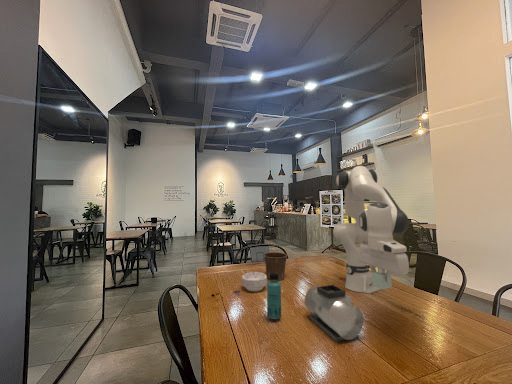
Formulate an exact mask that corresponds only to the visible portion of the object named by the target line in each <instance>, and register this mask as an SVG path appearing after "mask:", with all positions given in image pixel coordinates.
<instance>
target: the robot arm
mask: <svg viewBox="0 0 512 384" xmlns="http://www.w3.org/2000/svg"><path fill="white" fill-rule="evenodd" d="M335 180H336V181H335V182H336V183H335V184H336V186H337V187H338V188H339V189H341V190H345V191H344V212H345V215H347V216H349V217H350V218H352V219H354V220H355V223H353V222H343V223H342V222H341V223H338V224H336V225H335V226H334V227H333V231H332V232H333V236H334V238H335V239H336V240H337V241H339V242H340V243H341V244H342V246H343V247H344V250H345V255H346V263H345V266H346V267H345V269H346V277H345V278H346V279H345V283H344V287H345V288H346V289H347V290H349V291H353V292H356V293H365V294H372V293H375V292H379V291H382V289H380V288H377V287H375V286H373V285H372V273H373V272H378V270H376V268H377V269H378V268H381V269H384V270H385V271H386V273H388V276H387V277H385V281H386V282H388V283H390V282H392V281H393V277H394V275H395V274H396V275H399V276H403V275H407V274H409V272H410V265H409V264H410V263H409V257H408V254H406V252H407V250H408V249H407V246H406V245H404V244H401V243H399V242H398V241H396V240H395V239H394V236H393V235H402V234H403V233H405V232H406V231H407V230H408V229H409V226H410V221H409V217H408V215H407V214H406V213H405V212H404V211H403V210H402V209H401V208H400V207H399V205H398V204H397V202H396V201H395V200H394V198H393V197H392V195H391V193H389V191H388V189H386V188H385V187H383V186H381V184H378V180H379V179H378V175H377V172H376V171H374V170H371V169H368V168H367V167H365V166H363V165H357V166H355V167H354V168H352V169H351V170H347V171H341V172H339V173H338V174H337V176H336V179H335ZM365 200H368V201H369V200H370V201H374V202H372V203H369V204H368V205H367V210H366V207H365ZM356 242H360V243H359V246H358V245H356ZM392 283H393V282H392Z"/></svg>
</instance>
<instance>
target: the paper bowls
mask: <svg viewBox="0 0 512 384" xmlns="http://www.w3.org/2000/svg"><path fill="white" fill-rule="evenodd" d="M267 283H268V279H267V274H265V273H264V272H260V271H251V272H246V273H244V274H242V275H241V285H242V287H244V288H245V289H246V290H247V291H248V292H259V291H262V290H263V289H264V287H267Z"/></svg>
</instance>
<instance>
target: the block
mask: <svg viewBox="0 0 512 384" xmlns="http://www.w3.org/2000/svg"><path fill="white" fill-rule="evenodd" d="M371 273H372V272H371ZM387 276H388V273H387V272H386V270H384V269H381V268H378V267H377V272H373V273H372V285H373V286H375V287H377V288H380V289H381V291H382V290H386V289H387V290H388V289H392V287H393V284H392V283H393V282H390V283H388V282H386V281H385V277H387Z"/></svg>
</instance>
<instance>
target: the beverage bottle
mask: <svg viewBox="0 0 512 384" xmlns="http://www.w3.org/2000/svg"><path fill="white" fill-rule="evenodd" d="M269 279H271V280H269ZM269 279H268V280H269V281H267V285H266V289H267V290H266V291H267V292H266V297H267V298H266V303H267V304H266V308H267V309H266V311H267V312H266V315H267V318H268V319H270V320H278V319H280V318H281V317H282V289H281V288H282V284H281V282H280V281H278V280H277V279H279V277H278V274H277V273H270V277H269Z"/></svg>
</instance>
